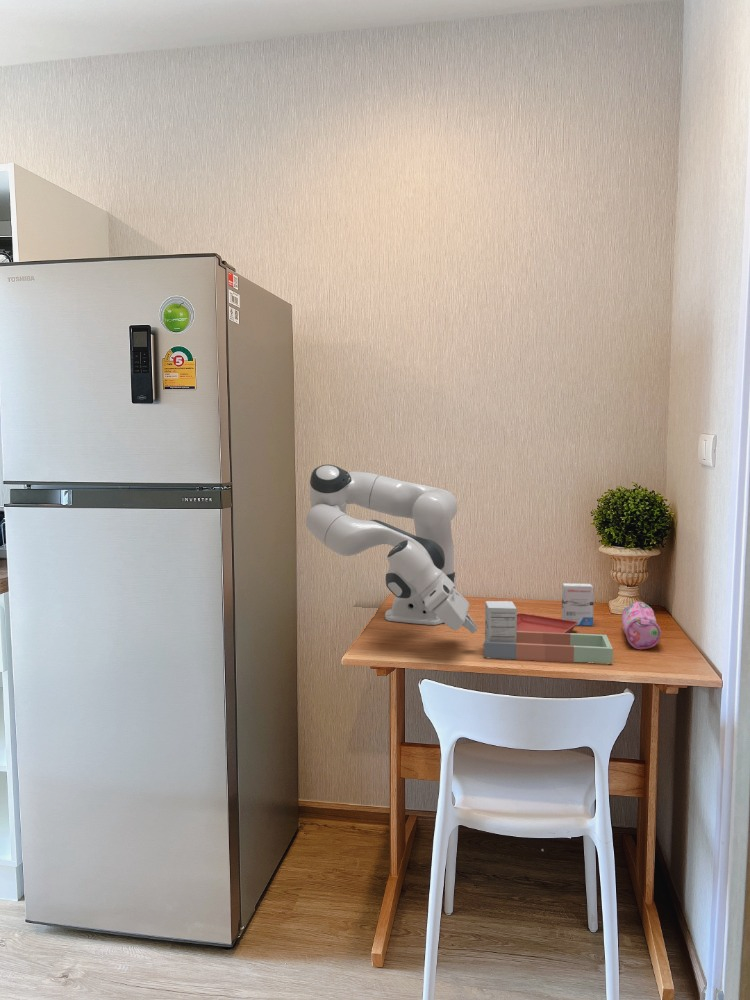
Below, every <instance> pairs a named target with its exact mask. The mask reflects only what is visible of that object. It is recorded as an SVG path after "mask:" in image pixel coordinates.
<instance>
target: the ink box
mask: <svg viewBox="0 0 750 1000" xmlns="http://www.w3.org/2000/svg"><path fill="white" fill-rule="evenodd" d="M561 585H562V586H561V591H562V592H561V619H563V620H569V621H575V622H578V624H577V625H576V626H582V627H583V626H586V627H587V626H589V627H590V626H592V627H593V626H594V601H595V600H594V599H595V598H594V596H595V595H594V593H595V592H594V586H593V584H592V583H568V582H567V583H565V582H564V583H562V584H561Z"/></svg>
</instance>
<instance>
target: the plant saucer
mask: <svg viewBox="0 0 750 1000" xmlns="http://www.w3.org/2000/svg"><path fill="white" fill-rule="evenodd" d="M577 624H578V622H575V621H569V620H563V619H562V618H556V617H555V618H554V617H551V616H550V617H549V616H543V615H536V614H529V613H521V612H517V631H532V632H555V633H572V631H573V630H574V629H575V628H576V627H577V626H578V625H577Z"/></svg>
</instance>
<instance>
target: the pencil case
mask: <svg viewBox="0 0 750 1000" xmlns="http://www.w3.org/2000/svg"><path fill="white" fill-rule="evenodd" d="M621 623H622V628H623V633H624V635H625V636H626V639H627V641H628V644H630V646H632V647H633V648H634V649H637V650H647V649H652V648H653V647H655V646H656V645H657V644H658V643H659V641H660V640H661V635H662V630H661V627H660V626H659V624H658V623H657V618H656V616H655V612H654V609H653V608H652V607H651V606H649V605H648V604H646V603H645V602H643V601H635V602H633V603H631V604H629V605H628V606H626V607H624V610H623V611H622V613H621Z"/></svg>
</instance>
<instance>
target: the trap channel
mask: <svg viewBox="0 0 750 1000" xmlns="http://www.w3.org/2000/svg"><path fill="white" fill-rule="evenodd" d="M607 635H608V634H600V633H599V634H594V633H575V632H573V633H572V632H570V633H555V632H532V631H517V633H516V643H509V642H488V641H485V640H484V641H483V658H484V657H490V658H489V659H491V658H503V659H502V660H511V659H518V660H517V661H530V660H534V661H533V662H535V661H537V662H550V661H557V662H556V663H559V662H558V661H561V662H560V663H569V662H591V663H592V662H593V663H612V664H613V658H614V657H613V655H614V653H613V652H614V650H613V649H614V648H613V647H612V644H611V642H610V639H609V638H608V636H607Z"/></svg>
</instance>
